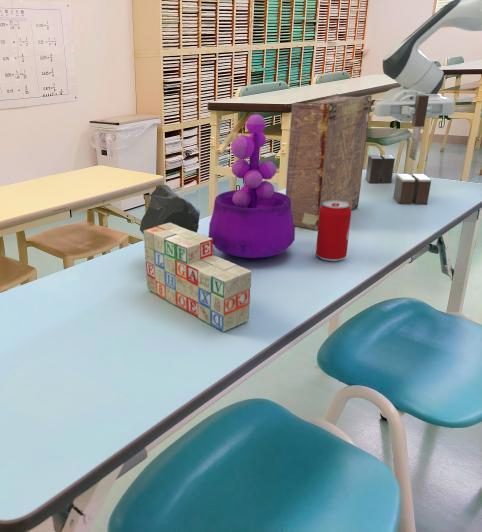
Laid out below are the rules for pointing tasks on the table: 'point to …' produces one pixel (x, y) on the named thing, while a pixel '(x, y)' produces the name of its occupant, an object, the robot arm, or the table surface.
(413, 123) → the knife
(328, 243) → the beverage can
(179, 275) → the stack of blocks
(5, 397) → the table surface
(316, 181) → the book
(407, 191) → the brown wooden cube
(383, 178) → the knife holder
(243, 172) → the decorative plant
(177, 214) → the dark grey faceted rock
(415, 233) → the table surface
